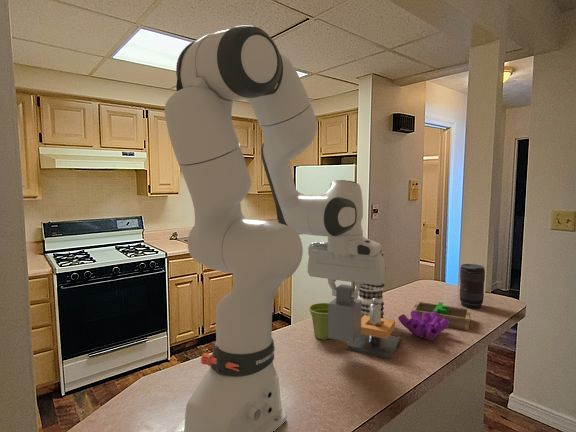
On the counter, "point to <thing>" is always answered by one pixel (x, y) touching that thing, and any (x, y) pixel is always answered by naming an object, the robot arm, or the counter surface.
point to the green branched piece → (441, 309)
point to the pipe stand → (375, 344)
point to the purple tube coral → (424, 324)
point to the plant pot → (320, 320)
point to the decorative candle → (370, 296)
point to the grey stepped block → (344, 315)
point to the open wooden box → (455, 315)
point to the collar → (376, 331)
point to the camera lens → (472, 285)
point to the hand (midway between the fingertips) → (344, 296)
